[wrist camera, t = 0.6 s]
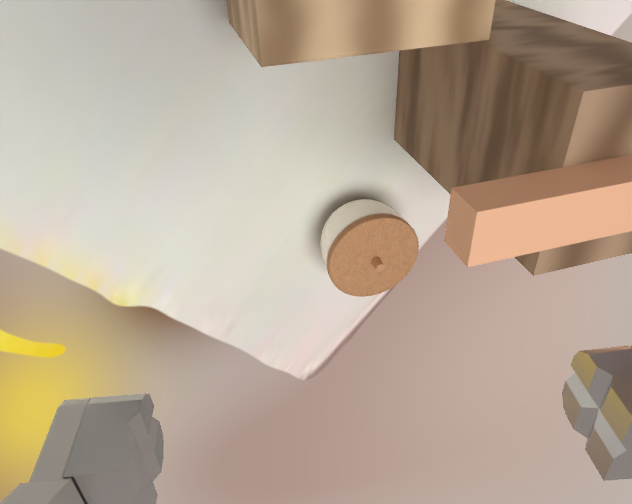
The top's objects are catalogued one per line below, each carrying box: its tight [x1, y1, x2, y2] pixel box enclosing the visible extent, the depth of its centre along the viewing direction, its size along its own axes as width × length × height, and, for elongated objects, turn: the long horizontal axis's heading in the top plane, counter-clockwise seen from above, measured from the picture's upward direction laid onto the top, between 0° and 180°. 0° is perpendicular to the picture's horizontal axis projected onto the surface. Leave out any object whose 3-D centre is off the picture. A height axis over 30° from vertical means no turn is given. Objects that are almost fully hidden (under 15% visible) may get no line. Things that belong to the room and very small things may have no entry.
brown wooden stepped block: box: [227, 0, 632, 276], centre depth 41 cm, size 27×28×26 cm
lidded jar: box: [321, 199, 419, 296], centre depth 61 cm, size 11×11×9 cm
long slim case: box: [444, 155, 632, 267], centre depth 35 cm, size 20×4×3 cm, turn 92°
